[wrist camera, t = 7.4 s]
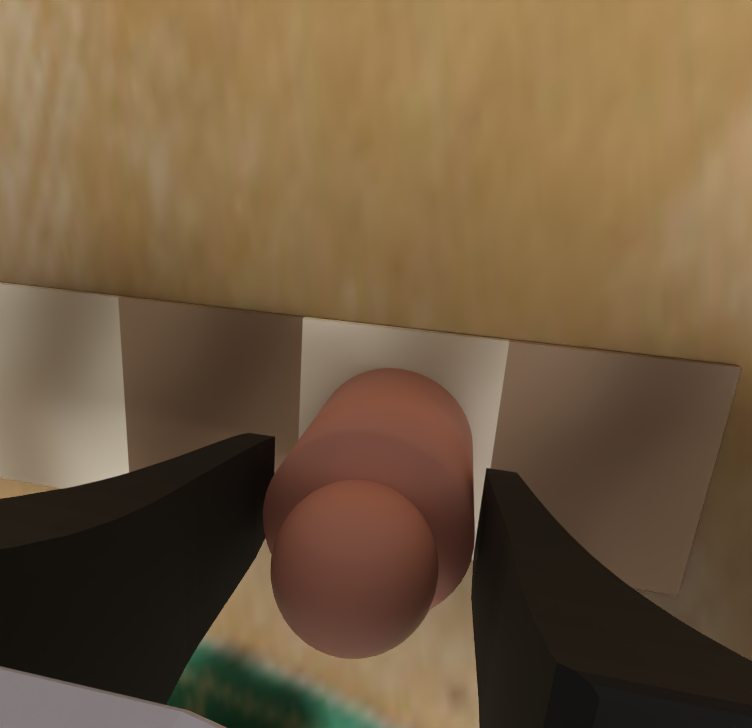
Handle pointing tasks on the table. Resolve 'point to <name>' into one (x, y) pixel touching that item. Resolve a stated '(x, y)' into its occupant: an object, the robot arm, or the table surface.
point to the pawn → (372, 514)
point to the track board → (336, 366)
